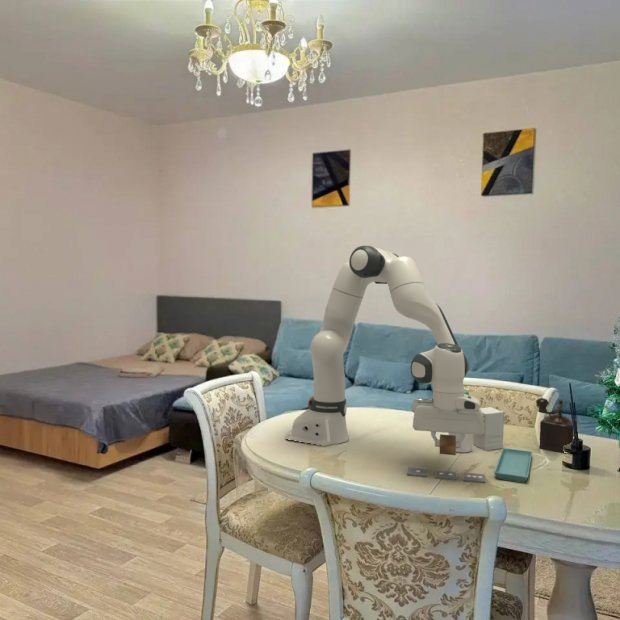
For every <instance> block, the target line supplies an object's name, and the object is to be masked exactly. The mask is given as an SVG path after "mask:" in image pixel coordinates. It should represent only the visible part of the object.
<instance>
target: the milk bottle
mask: <svg viewBox="0 0 620 620" xmlns="http://www.w3.org/2000/svg"><path fill="white" fill-rule="evenodd" d="M464 394H466V395H469V396H470V391H469V390H466V389H464ZM448 435H456V441H459V439H460V438H461V437H460V433H448ZM472 450H473V434H465V438H464V440H463V441H462V443H461V448H456V453H460V454H461V453H462V454H463V453H470V452H472Z"/></svg>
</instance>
